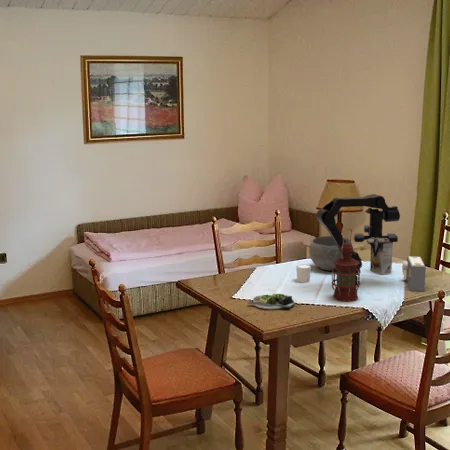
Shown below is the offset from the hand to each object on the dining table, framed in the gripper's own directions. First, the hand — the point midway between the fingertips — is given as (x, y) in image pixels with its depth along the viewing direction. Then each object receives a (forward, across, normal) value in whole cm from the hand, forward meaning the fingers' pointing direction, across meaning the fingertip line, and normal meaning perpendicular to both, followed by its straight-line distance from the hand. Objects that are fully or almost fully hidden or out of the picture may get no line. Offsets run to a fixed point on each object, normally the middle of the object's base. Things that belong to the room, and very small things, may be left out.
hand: (375, 256), depth 287 cm
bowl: (+13, +18, -25) cm, 34 cm away
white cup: (+13, +32, -4) cm, 35 cm away
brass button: (+8, -16, +7) cm, 19 cm away
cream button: (+8, -15, -5) cm, 17 cm away
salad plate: (+14, +45, +30) cm, 56 cm away
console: (+13, -18, +2) cm, 22 cm away
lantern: (+13, +15, +21) cm, 29 cm away
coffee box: (+13, -6, -20) cm, 25 cm away
